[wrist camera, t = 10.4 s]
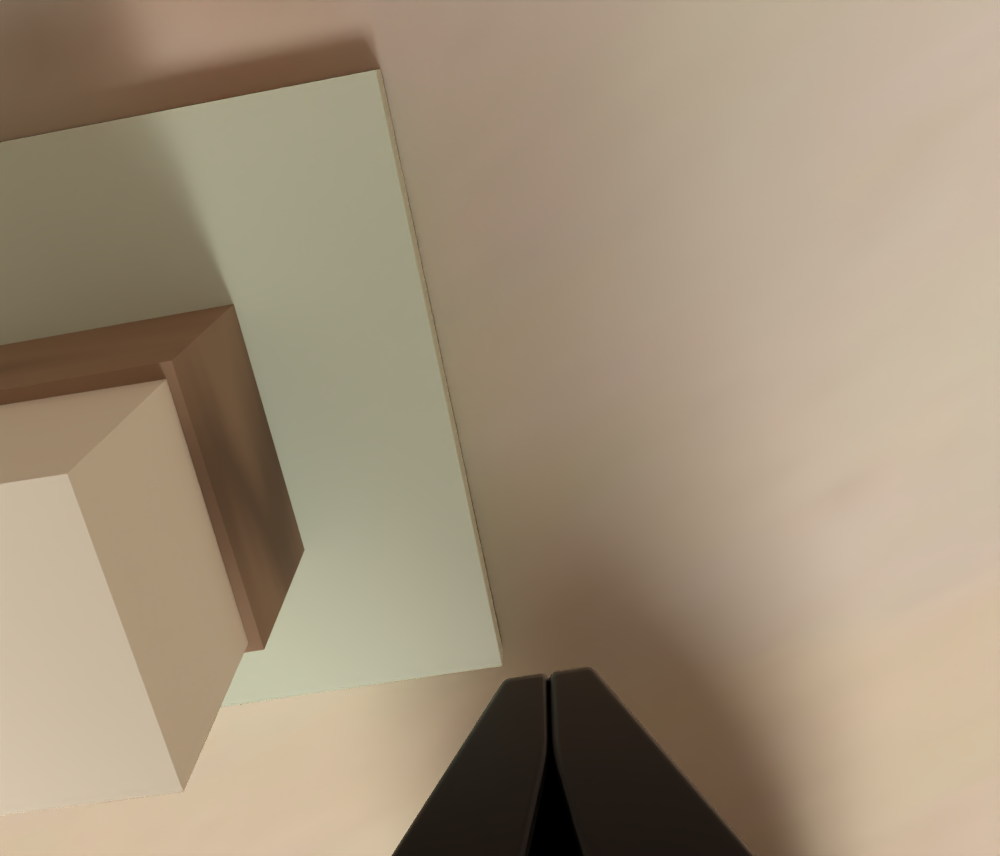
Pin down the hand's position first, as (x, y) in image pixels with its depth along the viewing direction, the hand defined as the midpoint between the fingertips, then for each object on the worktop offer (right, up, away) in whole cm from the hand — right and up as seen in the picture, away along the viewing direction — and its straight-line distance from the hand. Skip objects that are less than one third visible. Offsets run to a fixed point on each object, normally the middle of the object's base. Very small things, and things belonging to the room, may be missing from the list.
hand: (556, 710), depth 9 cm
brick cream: (-9, +1, +9) cm, 12 cm away
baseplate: (-9, +2, +13) cm, 16 cm away
